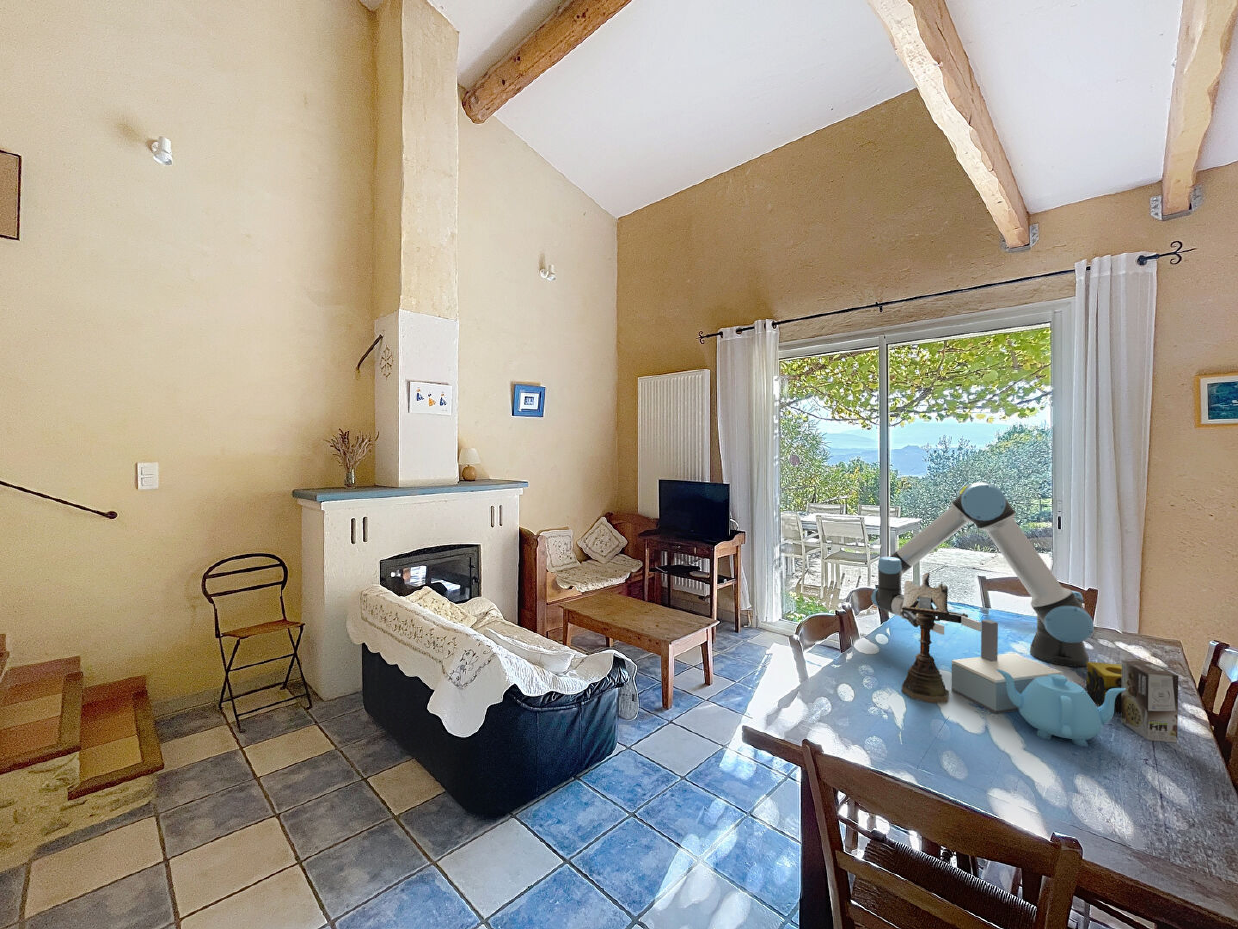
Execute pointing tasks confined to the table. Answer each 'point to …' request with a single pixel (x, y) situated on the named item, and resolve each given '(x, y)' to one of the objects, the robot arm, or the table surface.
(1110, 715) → the teapot
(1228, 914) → the table surface
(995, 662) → the carton lid
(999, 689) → the carton
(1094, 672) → the candle
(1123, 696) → the coffee box
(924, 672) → the bird statue
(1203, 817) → the table surface
